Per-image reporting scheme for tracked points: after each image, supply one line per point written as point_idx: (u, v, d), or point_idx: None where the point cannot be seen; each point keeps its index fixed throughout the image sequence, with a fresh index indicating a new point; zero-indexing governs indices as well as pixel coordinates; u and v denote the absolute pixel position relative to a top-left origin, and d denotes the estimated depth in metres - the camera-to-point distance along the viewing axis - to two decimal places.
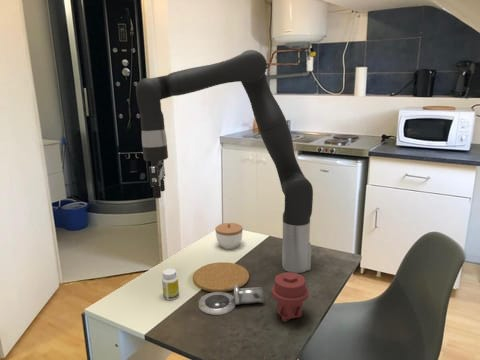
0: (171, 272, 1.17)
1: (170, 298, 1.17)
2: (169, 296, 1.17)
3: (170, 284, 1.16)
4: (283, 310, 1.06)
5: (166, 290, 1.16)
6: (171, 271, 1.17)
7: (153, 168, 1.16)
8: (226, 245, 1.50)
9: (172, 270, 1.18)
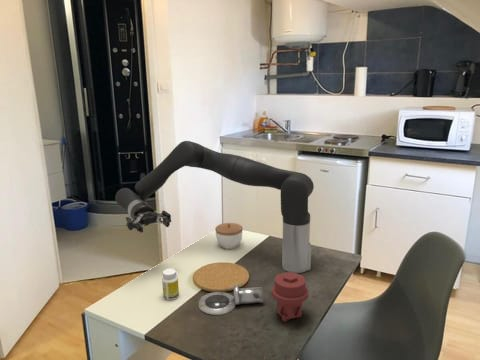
0: (171, 272, 1.17)
1: (170, 298, 1.17)
2: (169, 296, 1.17)
3: (170, 284, 1.16)
4: (283, 310, 1.06)
5: (166, 290, 1.16)
6: (171, 271, 1.17)
7: None
8: (226, 245, 1.50)
9: (172, 270, 1.18)
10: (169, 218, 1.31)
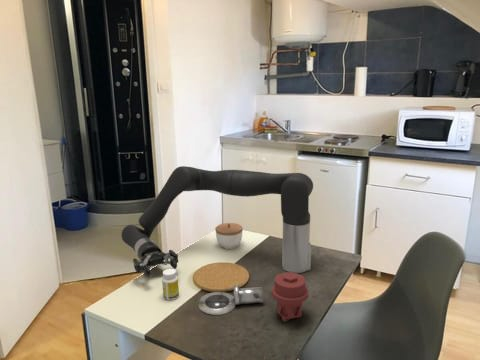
0: (171, 272, 1.17)
1: (170, 298, 1.17)
2: (169, 296, 1.17)
3: (170, 284, 1.16)
4: (283, 310, 1.06)
5: (166, 290, 1.16)
6: (171, 271, 1.17)
7: (133, 262, 1.29)
8: (226, 245, 1.50)
9: (172, 270, 1.18)
10: (176, 258, 1.31)
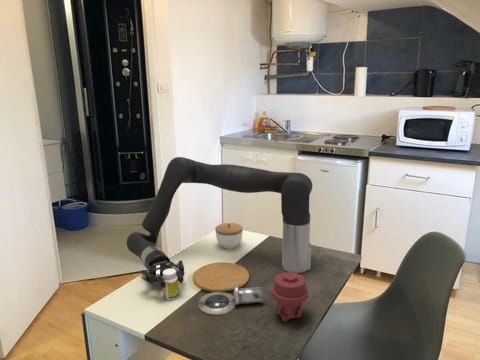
0: (171, 272, 1.17)
1: (170, 298, 1.17)
2: (169, 296, 1.17)
3: (170, 284, 1.16)
4: (283, 310, 1.06)
5: (166, 290, 1.16)
6: (171, 271, 1.17)
7: None
8: (226, 245, 1.50)
9: (172, 270, 1.18)
10: (182, 271, 1.21)
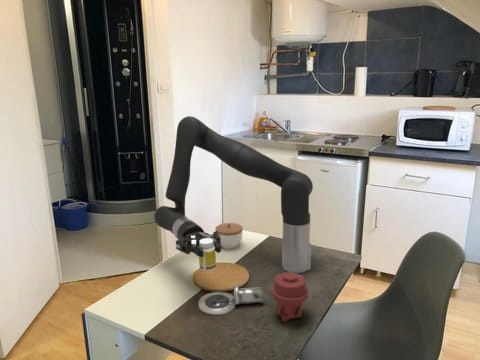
0: (208, 241, 1.10)
1: (207, 269, 1.10)
2: (207, 266, 1.10)
3: (208, 253, 1.09)
4: (283, 310, 1.06)
5: (203, 260, 1.10)
6: (208, 240, 1.10)
7: (176, 244, 1.13)
8: (226, 245, 1.50)
9: (209, 239, 1.11)
10: (219, 241, 1.15)
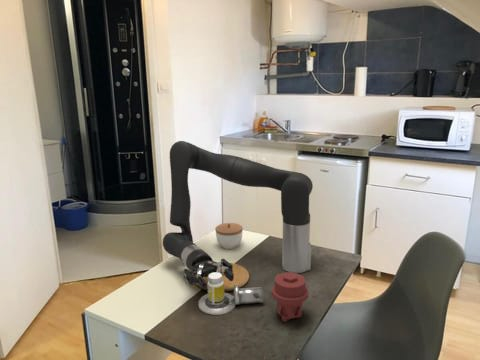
0: (217, 276, 1.12)
1: (216, 303, 1.12)
2: (216, 301, 1.12)
3: (217, 288, 1.11)
4: (283, 310, 1.06)
5: (212, 294, 1.11)
6: (217, 275, 1.12)
7: (184, 273, 1.16)
8: (226, 245, 1.50)
9: (218, 274, 1.13)
10: (231, 269, 1.17)
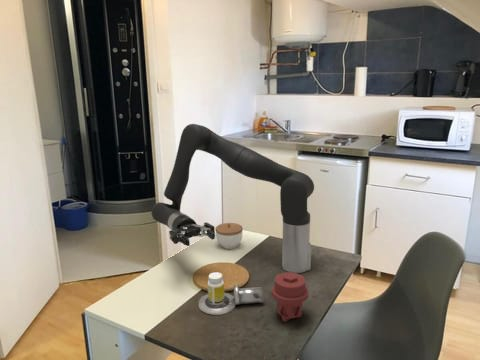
0: (217, 276, 1.12)
1: (216, 303, 1.12)
2: (216, 301, 1.12)
3: (217, 288, 1.11)
4: (283, 310, 1.06)
5: (212, 294, 1.11)
6: (217, 275, 1.12)
7: (169, 234, 1.26)
8: (226, 245, 1.50)
9: (218, 274, 1.13)
10: (213, 230, 1.27)
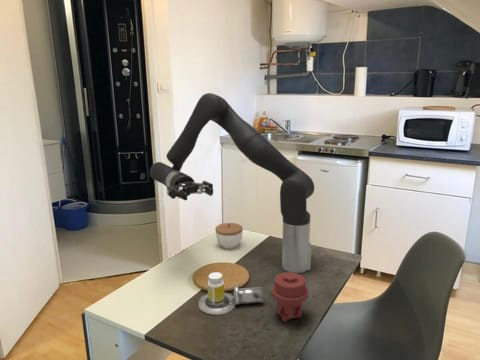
0: (217, 276, 1.12)
1: (216, 303, 1.12)
2: (216, 301, 1.12)
3: (217, 288, 1.11)
4: (283, 310, 1.06)
5: (212, 294, 1.11)
6: (217, 275, 1.12)
7: (167, 190, 1.25)
8: (226, 245, 1.50)
9: (218, 274, 1.13)
10: (211, 187, 1.26)
